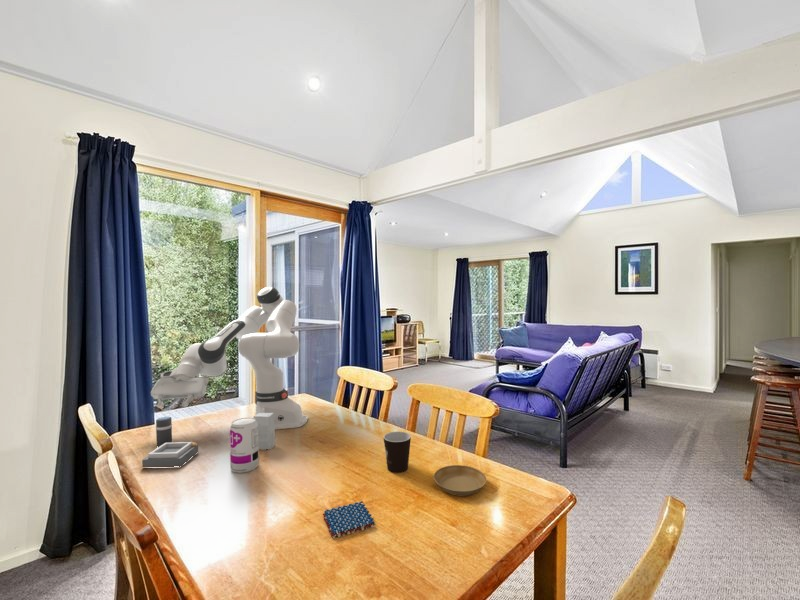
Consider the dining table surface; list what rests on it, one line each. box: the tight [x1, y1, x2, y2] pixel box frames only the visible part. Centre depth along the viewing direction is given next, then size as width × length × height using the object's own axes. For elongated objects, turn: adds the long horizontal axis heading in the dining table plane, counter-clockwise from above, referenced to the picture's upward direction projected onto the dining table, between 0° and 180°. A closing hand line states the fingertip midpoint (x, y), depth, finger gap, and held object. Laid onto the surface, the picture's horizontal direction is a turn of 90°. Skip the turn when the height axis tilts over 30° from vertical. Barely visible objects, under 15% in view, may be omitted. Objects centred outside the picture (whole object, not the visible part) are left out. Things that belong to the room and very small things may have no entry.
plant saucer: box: [433, 464, 487, 497], centre depth 106 cm, size 15×15×3 cm
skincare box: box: [253, 413, 276, 451], centre depth 135 cm, size 6×4×12 cm
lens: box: [155, 416, 173, 447], centre depth 137 cm, size 5×5×10 cm
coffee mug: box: [383, 431, 412, 474], centre depth 118 cm, size 12×9×10 cm
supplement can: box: [229, 417, 260, 474], centre depth 119 cm, size 8×8×15 cm
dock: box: [141, 441, 199, 467], centre depth 125 cm, size 12×11×4 cm
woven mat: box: [322, 500, 376, 540], centre depth 90 cm, size 10×11×2 cm
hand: (171, 406), depth 145 cm, fingers open, 8 cm apart
